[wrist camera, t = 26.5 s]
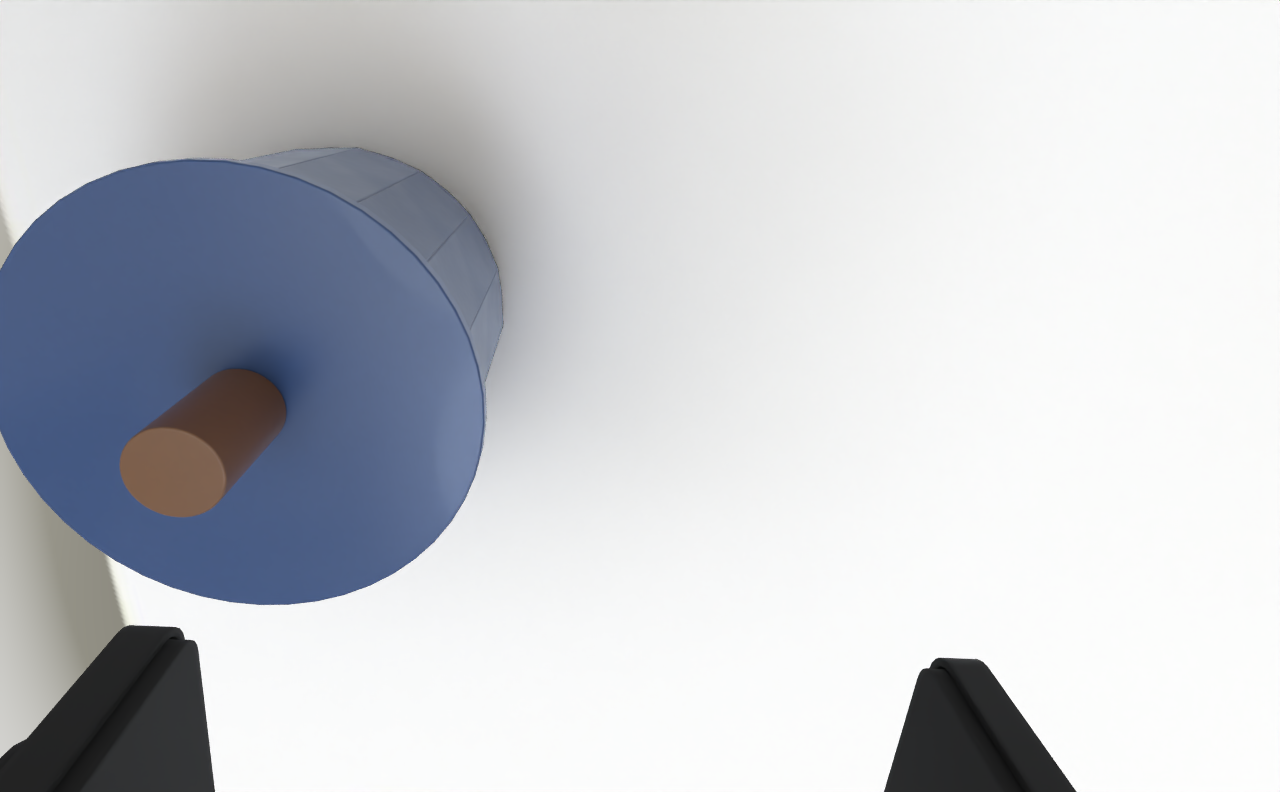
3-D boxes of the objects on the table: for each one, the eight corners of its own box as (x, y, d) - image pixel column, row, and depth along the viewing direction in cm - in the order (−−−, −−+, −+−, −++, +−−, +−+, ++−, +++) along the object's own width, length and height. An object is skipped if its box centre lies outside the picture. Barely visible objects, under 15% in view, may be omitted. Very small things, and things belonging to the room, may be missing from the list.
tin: (137, 226, 34) (-89, 296, 23) (410, 93, 33) (318, 95, 22) (309, 473, 39) (195, 634, 28) (551, 365, 38) (539, 485, 26)
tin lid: (-102, 284, 23) (-304, 341, 18) (334, 67, 22) (255, 59, 17) (200, 643, 28) (113, 769, 23) (563, 486, 27) (560, 581, 22)
